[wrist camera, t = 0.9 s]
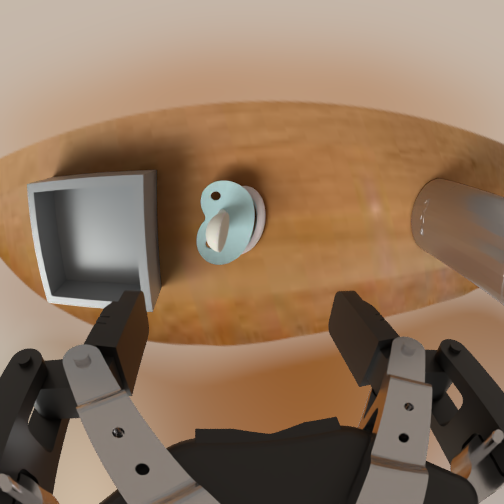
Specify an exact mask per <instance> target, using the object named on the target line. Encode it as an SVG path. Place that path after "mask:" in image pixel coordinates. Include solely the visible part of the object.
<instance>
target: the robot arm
mask: <svg viewBox="0 0 504 504" xmlns="http://www.w3.org/2000/svg"><path fill="white" fill-rule="evenodd" d="M411 225H412V233H413V237H414V239H415V242H416V243H417V244H418V246H419V247H420V248H421V249H423V250H424V251H426V252H428V253H429V254H431V255H432V256H434V257H435V258H437V259H439V260H440V261H442V262H443V263H444V264H446V265H448V266H449V267H451V268H452V269H454V270H455V271H457V272H458V273H460V274H461V275H462V276H464V277H465V278H467V279H468V280H470V281H471V282H473V283H474V284H475V285H477V286H478V287H480V288H481V289H482V290H484V291H485V292H487V293H488V294H489V295H491V296H492V297H493V298H495V299H496V300H497V301H499V302H500V303H501V304H503V305H504V197H502V196H499V195H496V194H493V193H490V192H487V191H483V190H480V189H477V188H474V187H470V186H467V185H464V184H460V183H457V182H453V181H449V180H445V179H435V180H432V181H430V182H429V183H428V184H426V185H425V186H424V188H423V189H422V190H421V192H420V193H419V195H418V196H417V199H416V201H415V204H414V207H413V211H412V219H411ZM329 333H330V335H331V337H332V339H333V341H334V342H335V344H336V346H337V348H338V350H339V351H340V353H341V355H342V357H343V358H344V360H345V362H346V364H347V366H348V367H349V369H350V371H351V373H352V374H353V376H354V378H355V380H356V382H357V384H358V386H359V387H361V386H366V385H371V387H372V388H371V390H370V392H369V395H368V398H367V402H366V405H365V408H364V411H363V414H362V417H361V420H360V423H359V426H358V428H356V427H351V426H340V424H339V422H338V420H337V417H332V418H327V419H322V420H316V421H310V422H304V423H302V424H299V425H296V426H293V427H291V428H288V429H285V430H282V431H279V432H276V433H272V434H265V433H257V432H249V431H243V430H236V429H195V438H194V439H189V440H185V441H182V442H179V443H177V444H174V445H172V446H170V447H168V448H165V447H164V445H163V444H162V443H161V442H160V440H159V439H158V438H157V437H156V435H155V434H154V432H153V431H152V430H151V428H150V427H149V426H148V424H147V423H146V421H145V420H144V419H143V417H142V416H141V415H140V413H139V411H138V410H137V408H136V407H135V405H134V404H133V402H132V401H131V399H130V398H129V396H132V394H133V389H134V386H135V382H136V378H137V374H138V370H139V367H140V363H141V360H142V356H143V352H144V349H145V345H146V342H147V339H148V334H149V324H148V317H147V311H146V304H145V297H144V293H143V291H137V290H125V291H124V292H123V294H122V295H121V297H120V299H119V301H118V302H117V301H113V302H111V303H110V304H109V305H107V306H106V307H105V308H104V309H103V311H102V313H101V314H100V317H99V318H98V319H97V321H96V324H95V325H94V326H93V328H92V330H91V332H90V334H89V335H88V337H87V339H86V341H85V343H84V344H83V345H78V346H75V347H73V348H71V349H69V350H68V351H67V352H66V354H65V355H64V357H63V359H61V360H50V361H44V360H43V358H42V355H41V353H40V352H39V351H37V350H35V349H24V350H21V351H19V352H17V353H16V354H15V355H14V356H13V357H12V359H11V360H10V362H9V364H8V365H7V367H6V369H5V370H4V372H3V374H2V376H1V377H0V504H59V502H58V501H57V499H56V498H55V497H54V496H53V490H54V484H55V477H56V473H57V468H58V463H59V459H60V454H61V450H62V446H63V442H64V438H65V434H66V430H67V427H68V423H69V420H70V418H81V421H82V424H83V425H84V428H85V430H86V432H87V435H88V437H89V439H90V441H91V443H92V445H93V447H94V449H95V451H96V453H97V455H98V456H99V458H100V460H101V462H102V464H103V465H104V467H105V469H106V470H107V472H108V474H109V476H110V478H111V479H112V481H113V482H114V484H115V486H116V487H117V490H116V491H115V492H113V493H112V494H111V495H110V496H108V497H107V498H106V499H104V500H103V501H102V502H101V503H99V504H479V503H480V502H481V501H483V500H484V499H485V498H487V497H488V496H490V495H491V494H493V493H494V492H496V491H497V490H498V489H500V488H501V487H502V486H504V393H503V391H502V390H501V389H500V387H499V386H498V385H497V384H496V382H495V381H494V380H493V379H492V377H491V376H490V375H489V374H488V373H487V372H486V370H485V369H484V368H483V367H482V366H481V365H480V363H479V362H478V361H477V360H476V359H475V358H474V357H473V356H472V354H471V353H470V352H469V351H468V350H467V349H466V348H465V347H464V346H463V345H462V344H461V343H459V342H457V341H455V340H451V339H446V340H443V341H442V342H441V344H440V346H439V348H438V350H425V349H424V347H423V346H422V344H421V343H419V342H418V341H417V340H415V339H412V338H409V337H400V336H399V335H398V334H397V333H396V332H395V331H394V329H393V328H392V327H391V326H390V325H389V324H388V322H387V321H386V320H385V319H384V318H383V317H382V315H380V313H379V312H378V311H377V310H376V309H375V308H374V307H373V306H372V305H370V304H369V303H367V302H365V301H363V300H362V299H361V297H360V296H359V295H358V294H357V293H356V292H355V291H338V292H337V293H336V295H335V298H334V302H333V307H332V311H331V315H330V319H329ZM452 382H453V383H454V385H455V386H456V388H457V389H458V390H459V392H460V393H461V395H462V397H463V404H462V406H461V408H460V409H459V410H458V409H457V407H456V406H455V405H454V403H453V402H452V400H451V399H450V397H449V396H448V394H447V393H446V391H447V389H448V388H449V387H450V385H451V384H452ZM33 406H34V407H35V408H34V411H33V413H32V416H31V418H30V421H29V424H28V419H29V416H30V414H31V411H32V409H33ZM430 428H431V430H432V432H433V433H434V435H435V437H436V439H437V441H438V442H439V444H440V446H441V448H442V450H443V452H444V454H445V456H446V457H447V459H448V461H449V463H450V465H451V466H450V470H451V471H448V470H446V469H443V468H441V467H439V466H436V465H434V464H432V463H430V462H427V461H426V456H427V449H428V442H429V433H430Z"/></svg>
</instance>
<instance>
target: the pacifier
mask: <svg viewBox="0 0 504 504" xmlns="http://www.w3.org/2000/svg"><path fill="white" fill-rule="evenodd" d="M215 191H217V192H219V193H220V194H221V197H220V198H219V199H218V200H213V199H212V198H211V194H212V193H213V192H215ZM253 203H254V204H253ZM254 206H255V209H256V223H255V227H254V230H253V226H254V218H255V212H254ZM201 207H202V210H203V213H204V214H205V221H204V222H203V223H202V225H201V226H200V228H199V231H198V234H197V248H198V251H199V253H200V255H201V256H202V257H203V258H204V259H205V260H206V261H208V262H209V263H212V264H217V265H221V264H226V263H229V262H231V261H233V260H235V259H236V258H238V257H239V256H240V255H241V254H243V253H246V252H248V251H249V250H251V249H252V248H253V247H254V246H255V245H256V243H257V242H258V241H259V239H260V237H261V235H262V233H263V229H264V225H265V216H266V214H265V206H264V203H263V200H262V197H261V196H260V194H259V193H258V192H257V191H256V190H255V189H254V188H252V187H249V186H240V185H239V184H237V183H235V182H232V181H227V180H220V181H216V182H213V183H211V184H210V185H208V186H207V187H206V188H205V190H204V191H203V193H202V196H201ZM252 231H253V232H252ZM206 241H207V243H208V245H209V246H210V247H211V248H208V247H207V246H206V244H205V243H206Z"/></svg>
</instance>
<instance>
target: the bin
mask: <svg viewBox="0 0 504 504" xmlns="http://www.w3.org/2000/svg"><path fill="white" fill-rule="evenodd" d="M27 190H28V203H29V212H30V220H31V228H32V234H33V240H34V246H35V251H36V256H37V261H38V266H39V270H40V275H41V279H42V283H43V286H44V290H45V294H46V297H47V301H48V302H49V303H57V304H65V305H74V306H83V307H94V308H105V307H106V306H107V305H109V304H110V303H111V302H113V301H117V302H118V301H119V299H120V297H121V295H122V294H123V292H124V291H125V290H137V291H143V293H144V297H145V304H146V311H147V312H153V310H154V307H155V304H156V301H157V298H158V296H159V293H160V290H161V276H160V263H159V247H158V226H157V170H136V171H116V172H100V173H88V174H77V175H67V176H58V177H51V178H47V179H44V180H40V181H36V182H33V183H30V184H27Z"/></svg>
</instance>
